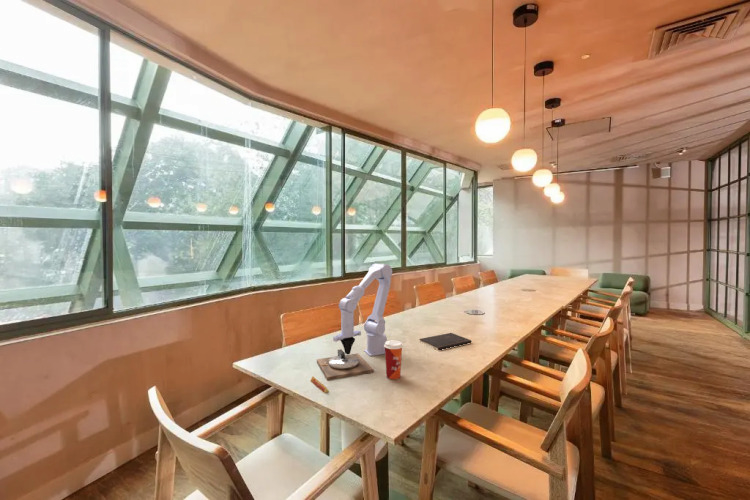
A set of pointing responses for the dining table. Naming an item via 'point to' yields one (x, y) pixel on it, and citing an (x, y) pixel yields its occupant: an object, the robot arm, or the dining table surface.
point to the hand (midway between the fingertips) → (347, 353)
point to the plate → (337, 373)
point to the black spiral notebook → (445, 341)
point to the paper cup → (393, 358)
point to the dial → (343, 361)
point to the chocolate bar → (319, 385)
